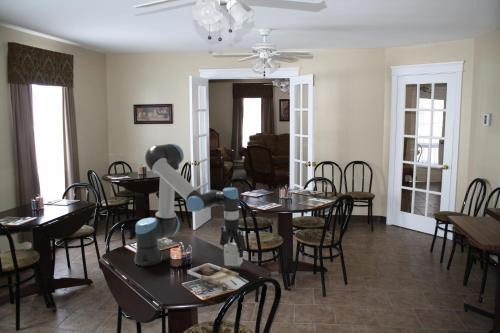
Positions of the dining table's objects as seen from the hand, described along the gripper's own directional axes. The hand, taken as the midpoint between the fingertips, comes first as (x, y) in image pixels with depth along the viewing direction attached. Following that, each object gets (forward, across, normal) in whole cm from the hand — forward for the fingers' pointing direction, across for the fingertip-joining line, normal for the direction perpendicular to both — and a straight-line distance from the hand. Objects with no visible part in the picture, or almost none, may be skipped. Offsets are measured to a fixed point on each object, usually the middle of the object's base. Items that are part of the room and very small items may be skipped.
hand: (233, 260), depth 221 cm
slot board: (+6, +3, -12) cm, 14 cm away
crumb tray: (+5, -9, -12) cm, 16 cm away
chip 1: (+5, -10, -10) cm, 15 cm away
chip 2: (+5, -6, -12) cm, 14 cm away
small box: (+2, 0, 0) cm, 2 cm away
